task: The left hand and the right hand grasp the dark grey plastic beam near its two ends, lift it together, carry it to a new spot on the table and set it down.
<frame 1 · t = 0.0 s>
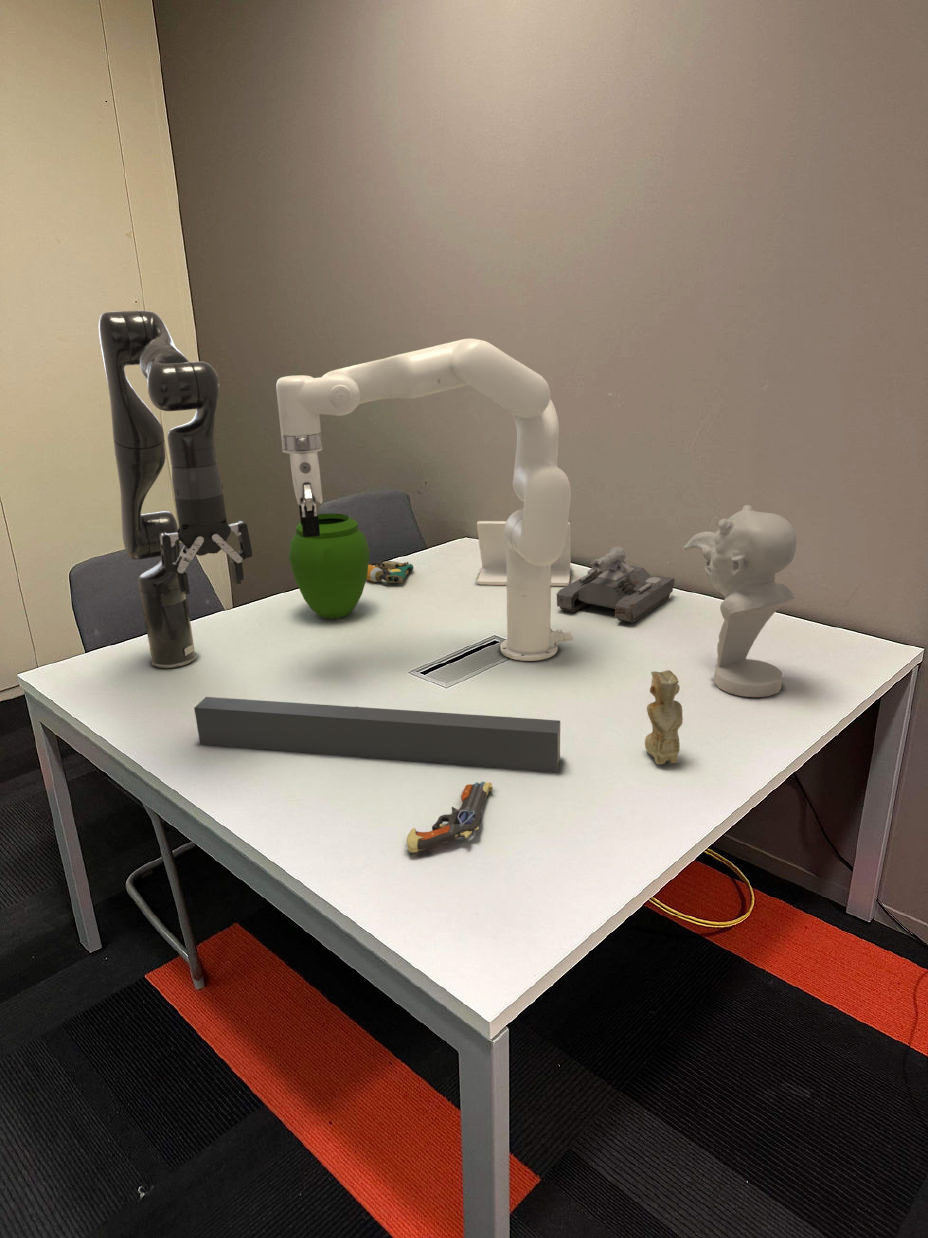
left hand: (212, 588, 142), 29 cm above the table, tool pointing down, fingers open, 8 cm apart
right hand: (310, 530, 169), 31 cm above the table, tool pointing down, fingers open, 9 cm apart
toy: (615, 605, 214), on the table
beam: (374, 751, 148), on the table
bust sculpture: (728, 680, 171), on the table
tablet stand: (525, 575, 239), on the table
vase: (334, 614, 214), on the table
toy gun: (451, 821, 128), on the table
sculpture: (661, 758, 143), on the table
spray gun: (390, 577, 241), on the table
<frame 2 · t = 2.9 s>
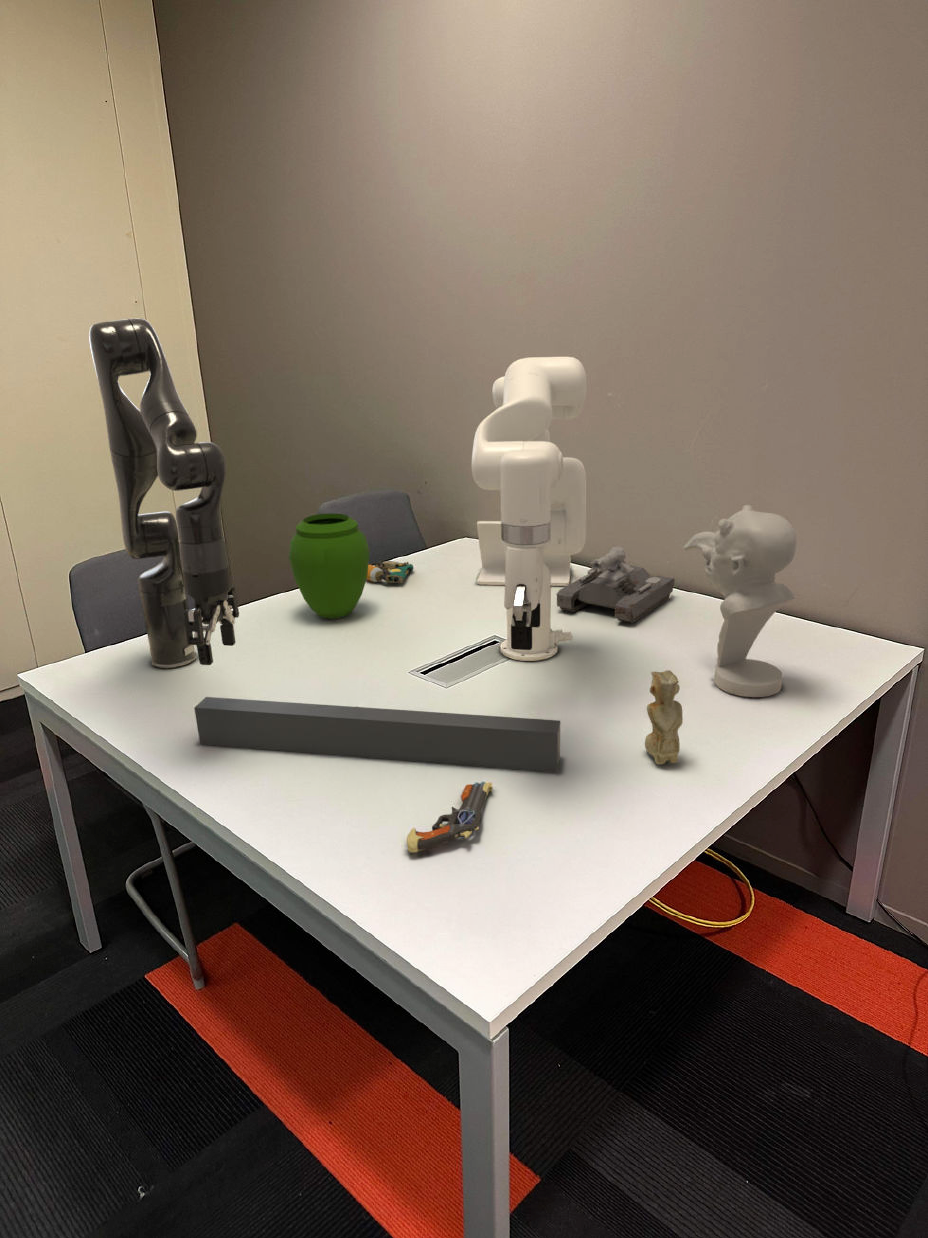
left hand: (218, 654, 148), 17 cm above the table, tool pointing down, fingers open, 8 cm apart
right hand: (526, 637, 136), 23 cm above the table, tool pointing down, fingers open, 9 cm apart
nothing on the table moved.
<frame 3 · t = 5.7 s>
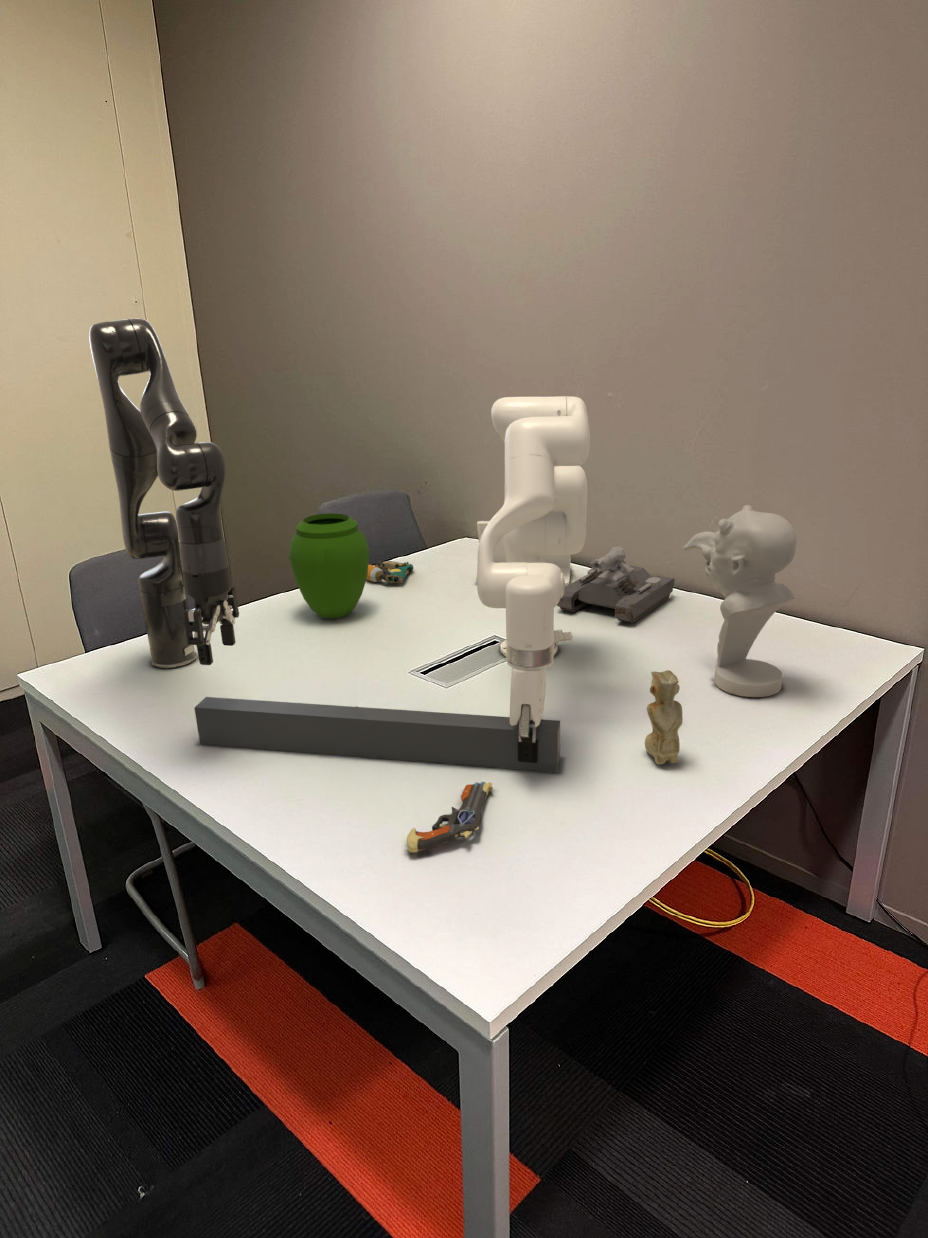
left hand: (218, 654, 148), 17 cm above the table, tool pointing down, fingers open, 8 cm apart
right hand: (529, 752, 142), 2 cm above the table, tool pointing down, fingers closed on beam, 4 cm apart
beam: (374, 751, 148), on the table, touching right hand
everything else where it was.
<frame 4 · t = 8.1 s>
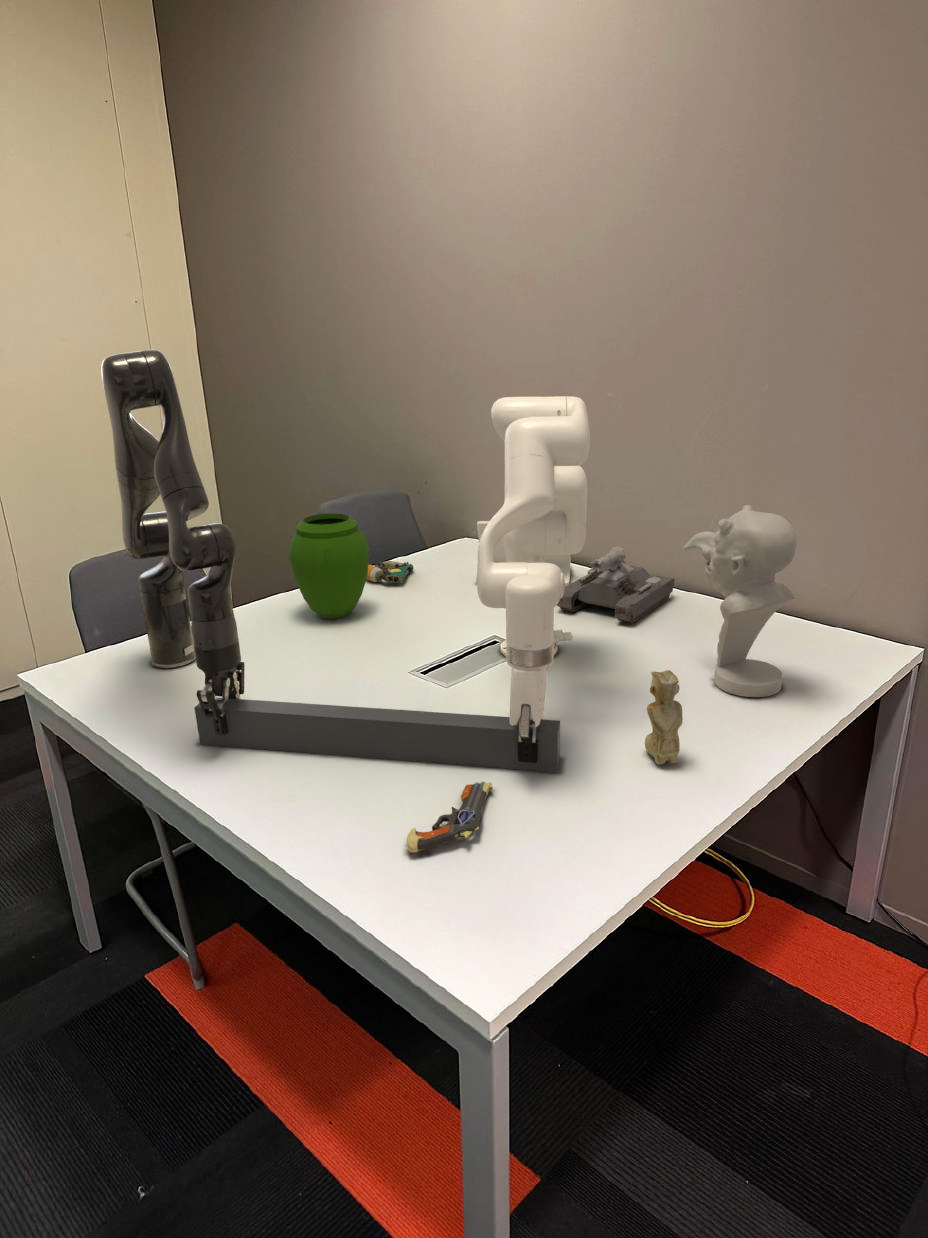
left hand: (228, 727, 153), 3 cm above the table, tool pointing down, fingers closed on beam, 4 cm apart
right hand: (529, 752, 142), 2 cm above the table, tool pointing down, fingers closed on beam, 4 cm apart
beam: (374, 751, 148), on the table, touching right hand, left hand
everything else where it was.
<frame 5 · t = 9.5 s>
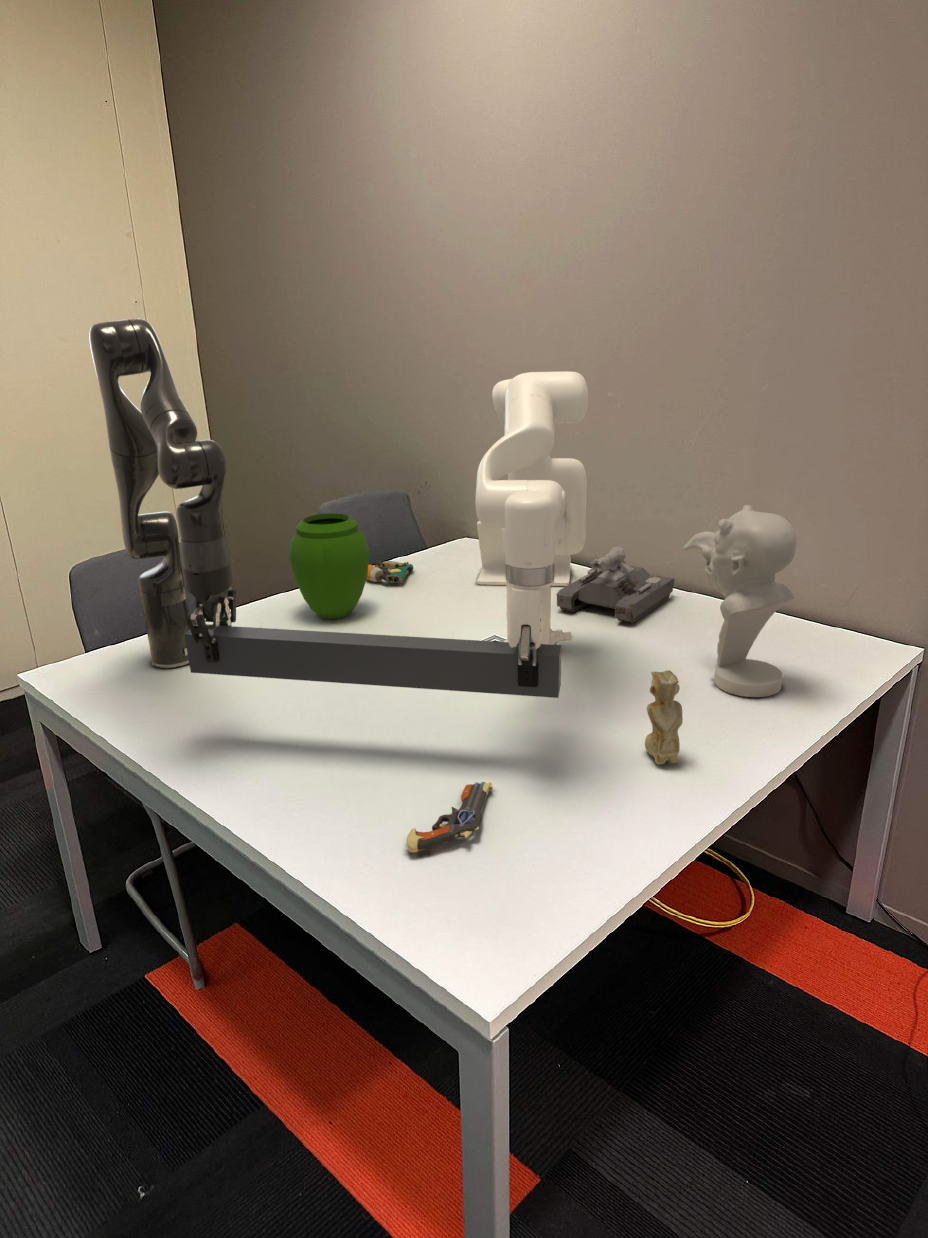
left hand: (219, 655, 148), 16 cm above the table, tool pointing down, fingers closed on beam, 4 cm apart
right hand: (530, 677, 138), 15 cm above the table, tool pointing down, fingers closed on beam, 4 cm apart
beam: (370, 678, 144), point 13 cm above the table, touching right hand, left hand
everything else where it was.
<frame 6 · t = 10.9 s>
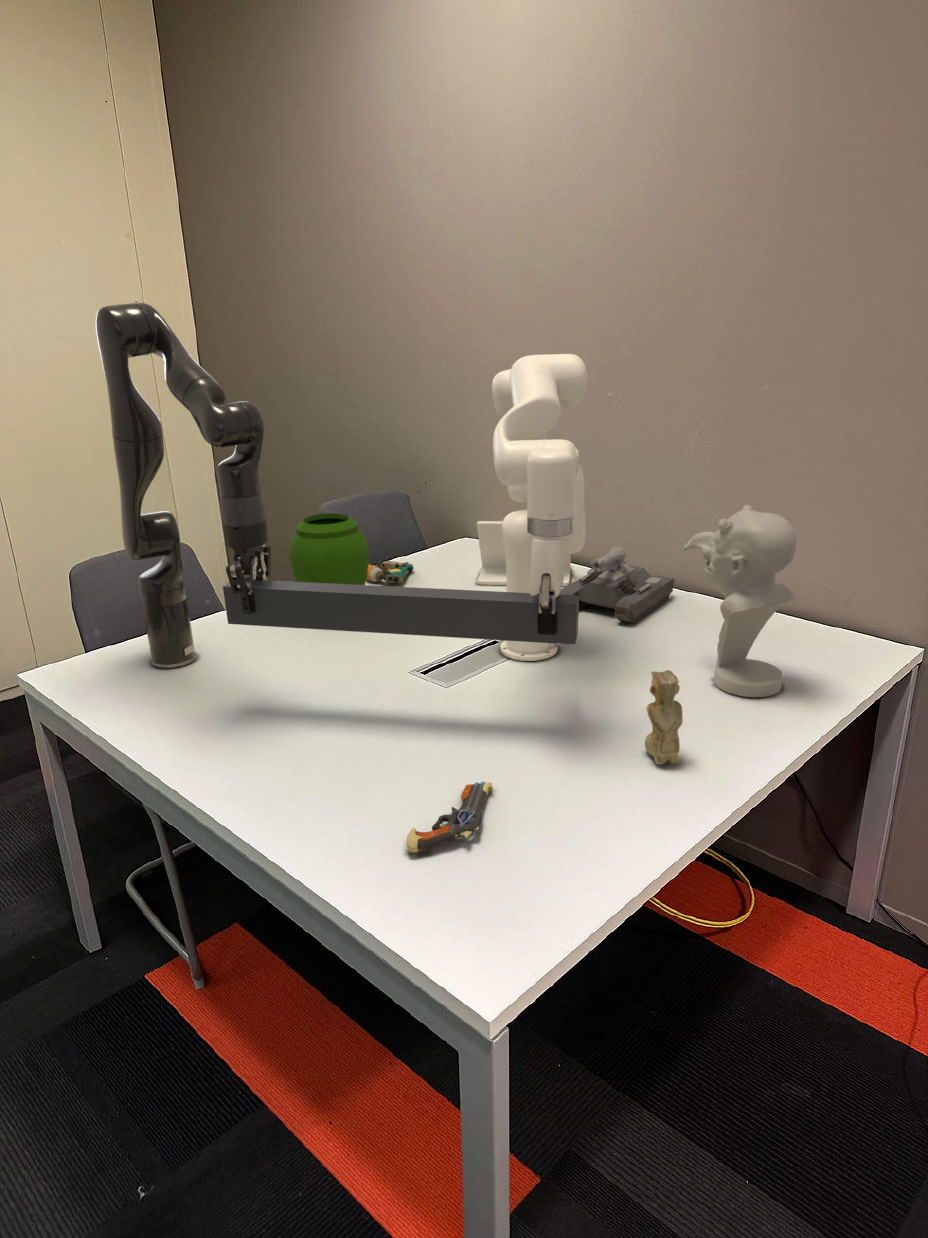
left hand: (255, 607, 157), 21 cm above the table, tool pointing down, fingers closed on beam, 4 cm apart
right hand: (549, 626, 147), 20 cm above the table, tool pointing down, fingers closed on beam, 4 cm apart
beam: (398, 629, 153), point 18 cm above the table, touching right hand, left hand
everything else where it was.
when the left hand's fingers open (4 cm above the table, at t = 13.7 s): beam drops 2 cm, on the table.
when the right hand's fingers open (4 cm above the table, at t = 13.7 s): beam drops 2 cm, on the table.
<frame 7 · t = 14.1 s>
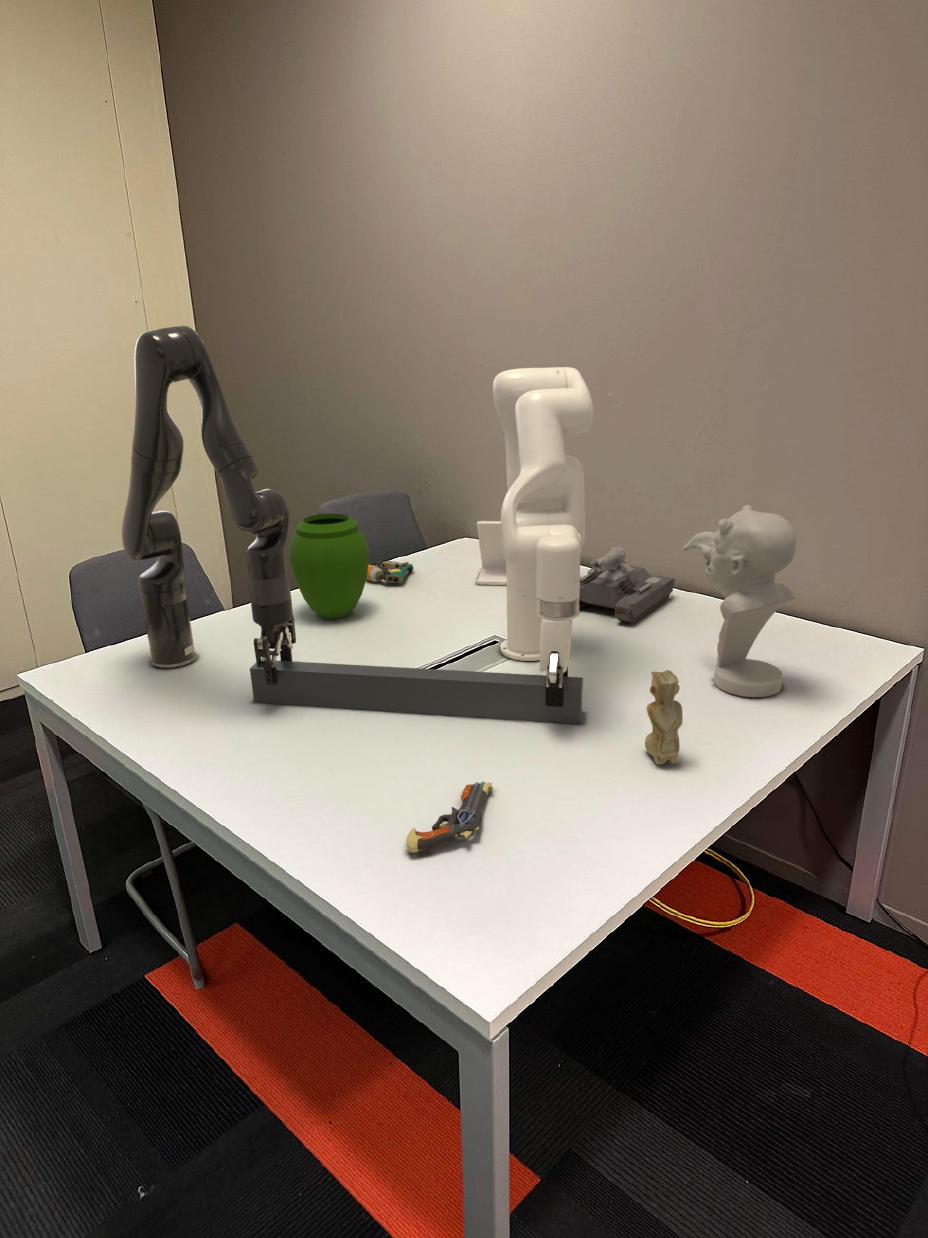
left hand: (279, 675, 167), 5 cm above the table, tool pointing down, fingers open, 7 cm apart
right hand: (556, 694, 157), 5 cm above the table, tool pointing down, fingers open, 8 cm apart
beam: (413, 707, 164), on the table
everything else where it was.
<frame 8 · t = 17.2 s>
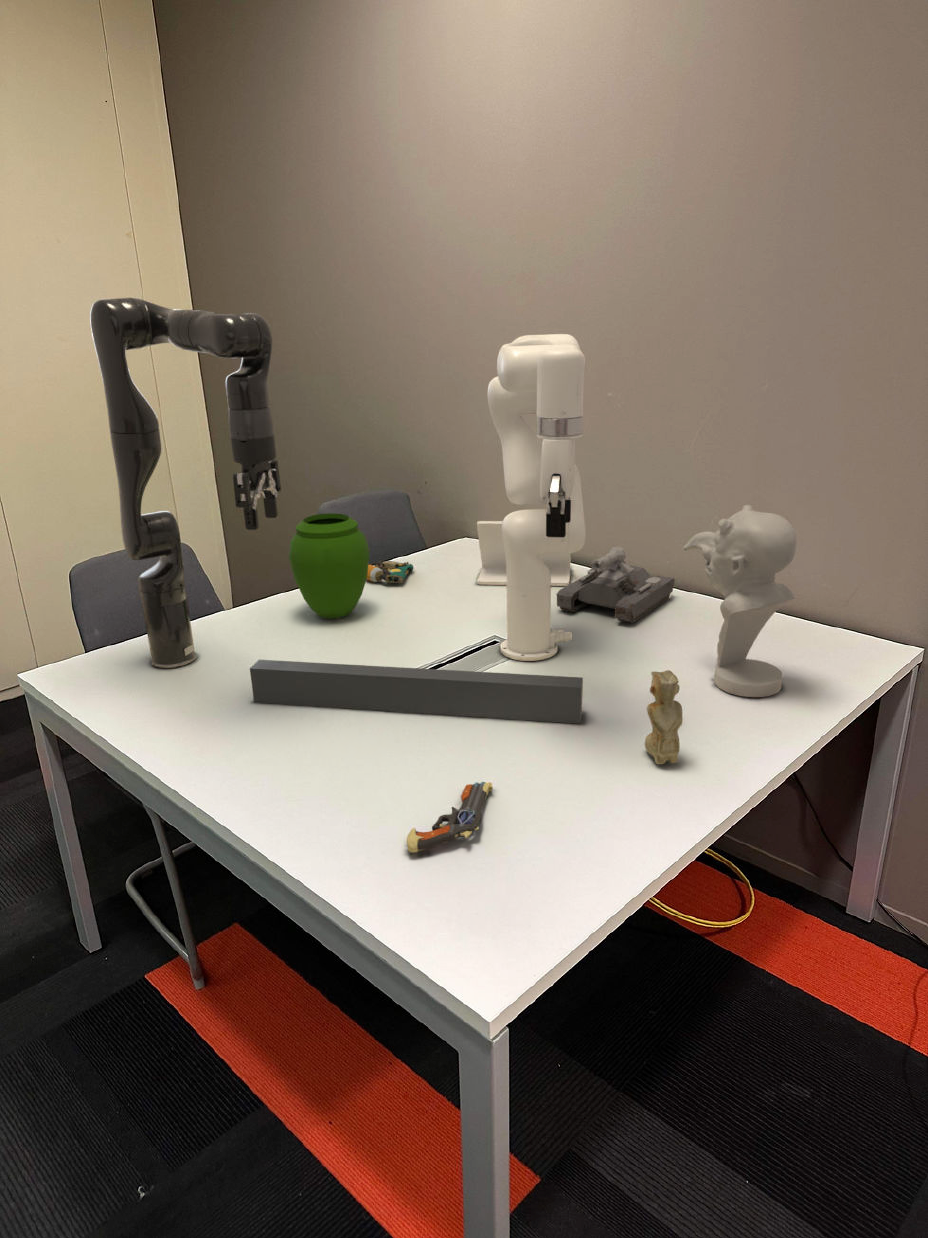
left hand: (262, 523, 156), 36 cm above the table, tool pointing down, fingers open, 8 cm apart
right hand: (558, 529, 146), 36 cm above the table, tool pointing down, fingers open, 9 cm apart
nothing on the table moved.
at the end: beam inside the target area (0.3 cm from its centre), on the table; beam tilted 0°; beam never tilted more than 3° during the clip; both hands held the beam at the same time; the left hand is holding nothing; the right hand is holding nothing; beam at rest at the end (0.0 cm/s) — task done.
